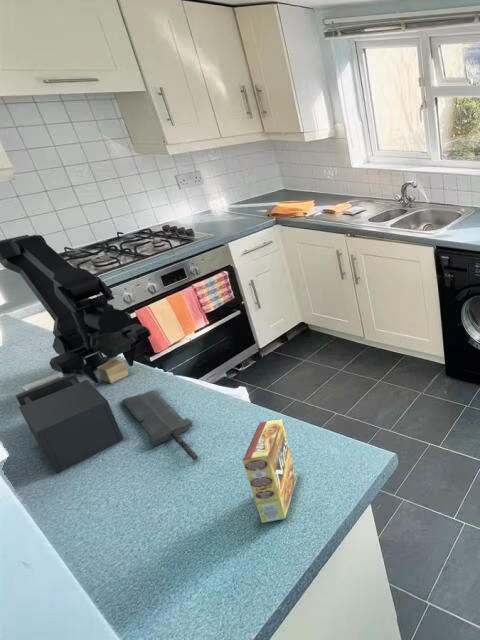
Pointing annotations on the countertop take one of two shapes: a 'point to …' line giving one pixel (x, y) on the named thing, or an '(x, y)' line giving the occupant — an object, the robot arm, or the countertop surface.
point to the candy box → (270, 470)
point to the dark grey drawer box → (72, 424)
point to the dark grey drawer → (45, 387)
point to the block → (112, 371)
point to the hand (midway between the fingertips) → (114, 374)
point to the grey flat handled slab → (159, 419)
